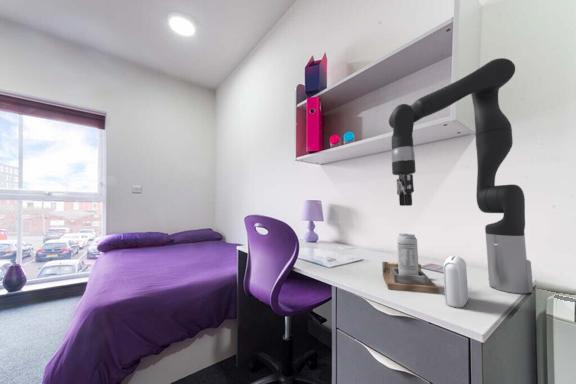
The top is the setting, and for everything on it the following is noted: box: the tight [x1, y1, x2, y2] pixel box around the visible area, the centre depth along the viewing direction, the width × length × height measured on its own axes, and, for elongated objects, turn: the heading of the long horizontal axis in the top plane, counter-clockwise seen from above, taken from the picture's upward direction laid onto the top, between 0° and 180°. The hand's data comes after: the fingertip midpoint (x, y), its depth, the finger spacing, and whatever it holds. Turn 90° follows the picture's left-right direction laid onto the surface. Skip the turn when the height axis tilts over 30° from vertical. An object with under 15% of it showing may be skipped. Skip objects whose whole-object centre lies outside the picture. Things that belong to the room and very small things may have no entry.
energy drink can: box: [396, 233, 419, 276], centre depth 77 cm, size 6×6×15 cm
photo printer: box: [443, 255, 469, 309], centre depth 63 cm, size 10×4×12 cm, turn 134°
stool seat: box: [382, 267, 440, 295], centre depth 76 cm, size 14×13×4 cm
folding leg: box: [381, 261, 422, 274], centre depth 84 cm, size 13×2×5 cm, turn 78°
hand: (405, 205), depth 81 cm, fingers open, 8 cm apart
